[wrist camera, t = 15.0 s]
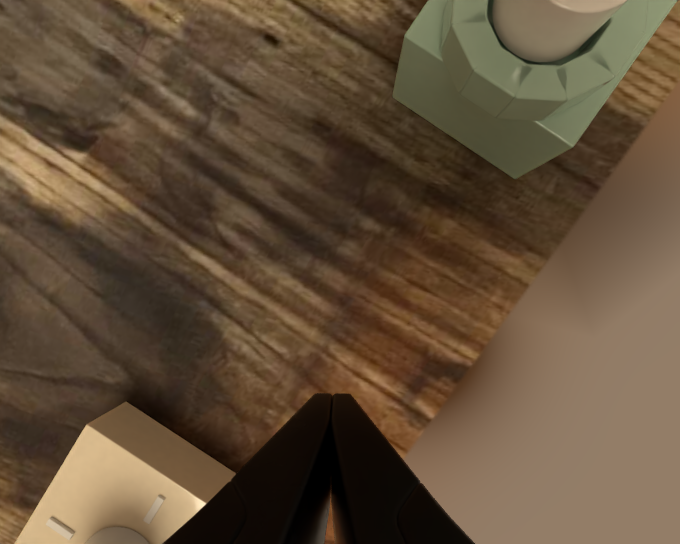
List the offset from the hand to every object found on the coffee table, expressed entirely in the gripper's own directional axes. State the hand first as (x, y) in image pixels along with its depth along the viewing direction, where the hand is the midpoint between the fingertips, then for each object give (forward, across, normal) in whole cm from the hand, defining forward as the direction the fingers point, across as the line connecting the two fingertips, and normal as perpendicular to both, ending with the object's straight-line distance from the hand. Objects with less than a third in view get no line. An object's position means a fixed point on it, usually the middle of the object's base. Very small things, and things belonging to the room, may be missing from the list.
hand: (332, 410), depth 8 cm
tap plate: (+9, +10, +13) cm, 19 cm away
